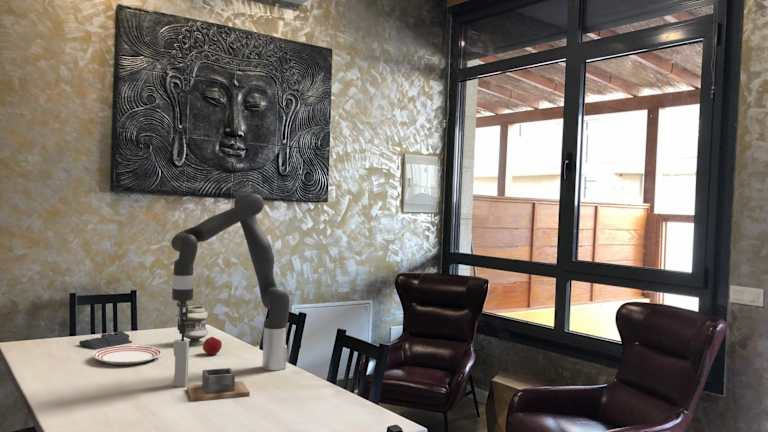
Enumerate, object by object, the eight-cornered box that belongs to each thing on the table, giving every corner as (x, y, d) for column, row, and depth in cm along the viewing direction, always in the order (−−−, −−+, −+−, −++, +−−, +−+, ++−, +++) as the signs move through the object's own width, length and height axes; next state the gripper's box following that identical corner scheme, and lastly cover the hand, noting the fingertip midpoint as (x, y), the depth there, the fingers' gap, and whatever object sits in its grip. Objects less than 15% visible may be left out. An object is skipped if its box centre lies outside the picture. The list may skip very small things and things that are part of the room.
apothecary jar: (176, 345, 286) (177, 307, 286) (191, 340, 298) (192, 304, 297) (198, 348, 283) (199, 309, 282) (212, 342, 294) (213, 306, 294)
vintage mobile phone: (174, 383, 227) (176, 317, 227) (187, 383, 228) (189, 317, 227) (171, 386, 223) (173, 319, 223) (185, 386, 224) (187, 319, 224)
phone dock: (242, 384, 229) (242, 365, 229) (249, 396, 216) (250, 375, 216) (186, 389, 221) (187, 369, 221) (191, 401, 208) (192, 379, 208)
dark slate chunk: (73, 346, 279) (74, 336, 279) (116, 338, 298) (116, 328, 298) (93, 351, 271) (94, 341, 271) (136, 343, 290) (136, 333, 290)
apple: (218, 357, 268) (219, 339, 268) (200, 356, 268) (201, 338, 268) (223, 352, 276) (223, 335, 276) (205, 352, 276) (206, 334, 276)
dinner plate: (172, 354, 271) (172, 346, 271) (142, 370, 244) (142, 362, 244) (114, 350, 274) (114, 343, 274) (78, 366, 246) (78, 357, 246)
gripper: (195, 289, 220) (194, 335, 220) (191, 284, 233) (189, 327, 233) (174, 290, 217) (172, 336, 217) (170, 284, 230) (169, 328, 230)
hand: (181, 331), depth 225 cm, fingers open, 6 cm apart
